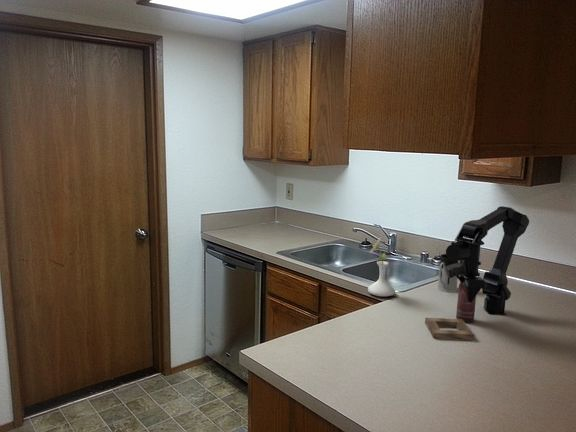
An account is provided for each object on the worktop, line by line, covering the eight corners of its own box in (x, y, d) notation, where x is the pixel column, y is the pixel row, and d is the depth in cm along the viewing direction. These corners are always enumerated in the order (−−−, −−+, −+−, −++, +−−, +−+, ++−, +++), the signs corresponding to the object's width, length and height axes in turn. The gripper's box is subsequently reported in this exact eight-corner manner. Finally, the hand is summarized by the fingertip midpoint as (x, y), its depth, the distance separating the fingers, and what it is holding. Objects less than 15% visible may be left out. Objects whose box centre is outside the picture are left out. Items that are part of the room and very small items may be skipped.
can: (476, 324, 166) (479, 286, 164) (457, 322, 167) (460, 285, 165) (472, 317, 172) (476, 281, 170) (454, 316, 173) (457, 280, 171)
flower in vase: (377, 288, 204) (380, 232, 199) (400, 294, 196) (403, 237, 191) (359, 294, 195) (362, 236, 190) (382, 302, 187) (386, 241, 182)
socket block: (461, 324, 165) (462, 319, 165) (473, 340, 153) (474, 334, 152) (424, 322, 166) (425, 317, 166) (433, 338, 154) (433, 332, 153)
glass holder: (460, 289, 205) (463, 256, 202) (448, 297, 194) (451, 262, 191) (441, 284, 210) (443, 252, 208) (428, 292, 199) (430, 258, 197)
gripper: (441, 250, 175) (438, 289, 178) (455, 263, 157) (451, 307, 160) (471, 251, 175) (467, 291, 177) (488, 265, 156) (484, 308, 159)
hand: (467, 299), depth 168 cm, fingers open, 6 cm apart
